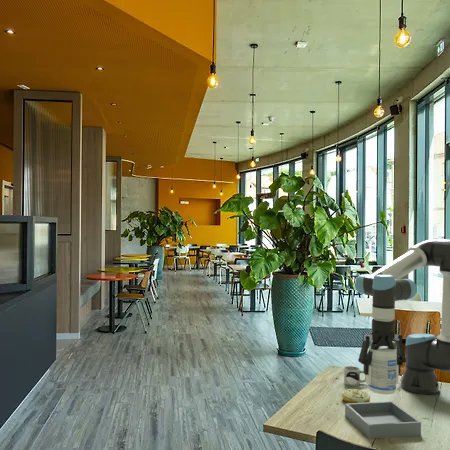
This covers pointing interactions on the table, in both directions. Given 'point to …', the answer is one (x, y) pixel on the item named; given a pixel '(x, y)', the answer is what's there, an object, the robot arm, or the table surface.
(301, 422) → the table surface
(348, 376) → the mug
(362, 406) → the bin
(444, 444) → the table surface
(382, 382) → the supplement tub
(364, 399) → the decorated donut
